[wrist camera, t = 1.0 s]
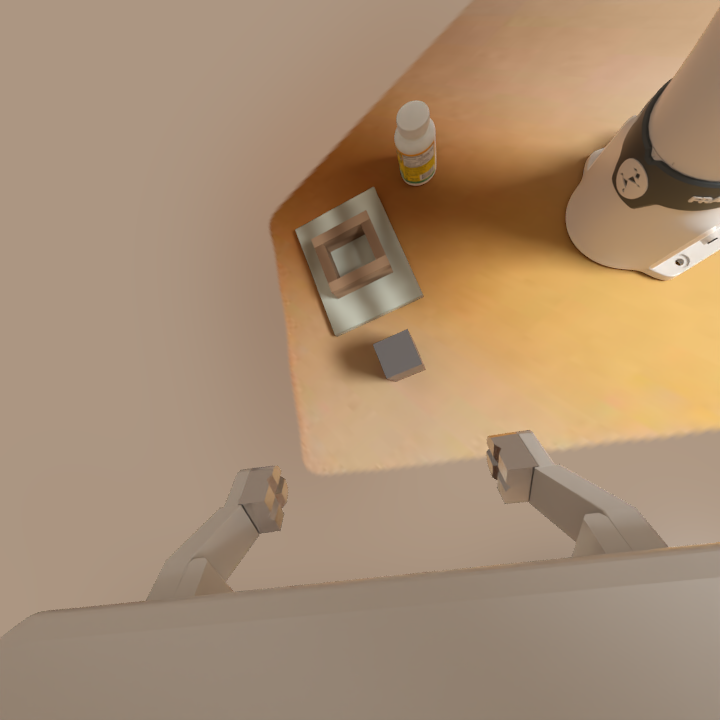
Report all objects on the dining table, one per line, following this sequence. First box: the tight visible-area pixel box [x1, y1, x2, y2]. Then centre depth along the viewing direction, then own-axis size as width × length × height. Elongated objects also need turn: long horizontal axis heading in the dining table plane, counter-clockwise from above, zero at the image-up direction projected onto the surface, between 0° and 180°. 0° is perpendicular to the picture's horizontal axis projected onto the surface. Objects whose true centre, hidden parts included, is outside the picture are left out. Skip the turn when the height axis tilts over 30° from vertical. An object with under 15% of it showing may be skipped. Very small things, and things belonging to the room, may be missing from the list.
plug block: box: [373, 329, 426, 382], centre depth 41 cm, size 4×4×8 cm
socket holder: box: [295, 187, 423, 337], centre depth 46 cm, size 14×19×4 cm
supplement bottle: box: [394, 101, 436, 186], centre depth 42 cm, size 5×5×10 cm
